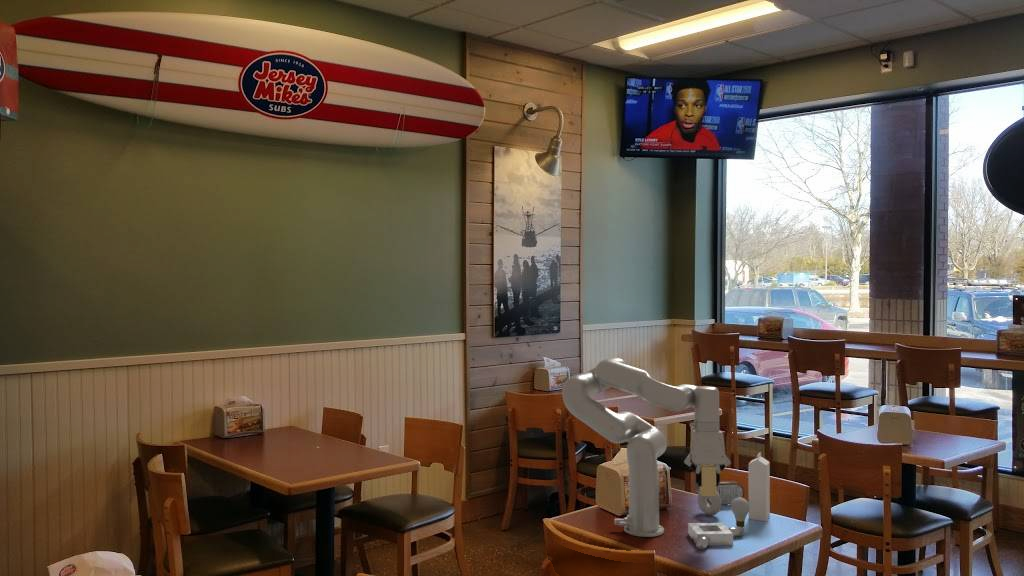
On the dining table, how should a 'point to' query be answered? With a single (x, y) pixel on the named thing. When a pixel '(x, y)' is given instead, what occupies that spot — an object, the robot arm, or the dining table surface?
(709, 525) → the white square socket base
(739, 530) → the shaft right
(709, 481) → the block
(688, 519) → the dining table surface
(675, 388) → the robot arm
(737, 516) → the light bulb
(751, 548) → the dining table surface
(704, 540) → the shaft left
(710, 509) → the donut
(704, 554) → the dining table surface
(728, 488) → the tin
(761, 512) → the milk
